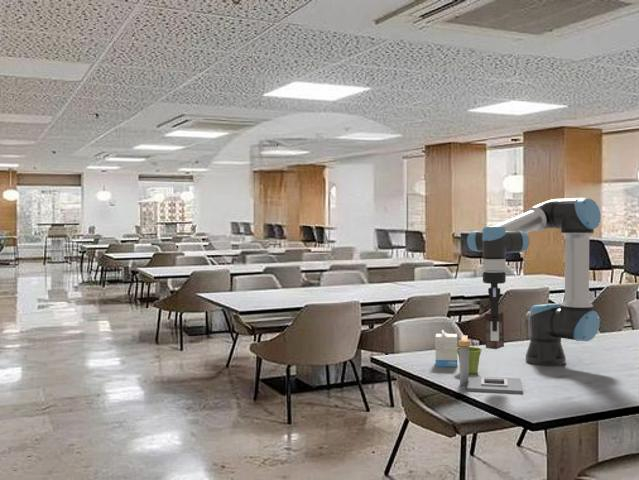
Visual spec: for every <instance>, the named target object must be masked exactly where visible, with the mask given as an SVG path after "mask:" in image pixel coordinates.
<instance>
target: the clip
mask: <svg viewBox="0 0 639 480" xmlns="http://www.w3.org/2000/svg"><path fill="white" fill-rule="evenodd" d="M468 336H469V335H465V334H464V335H463V334H461V339H460V340H457V347H460V346H463V347H467V346H469V347H471V341H470V340H468Z"/></svg>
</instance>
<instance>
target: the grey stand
mask: <svg viewBox="0 0 639 480" xmlns="http://www.w3.org/2000/svg"><path fill="white" fill-rule="evenodd" d="M459 347H460V362H459V385H460V386H466V392H479V393H480V392H481V393H482V392H483V393H497V394H498V393H500V394H501V393H502V394H517V395H518V394H519V395H523V394H524V389H523V383H522V379H521V378H519V377H499V376H498V377H497V376H480V375H477V376H476V375H470V373H469V347H470V346H467V347H463V346H459Z"/></svg>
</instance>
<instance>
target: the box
mask: <svg viewBox="0 0 639 480" xmlns="http://www.w3.org/2000/svg"><path fill="white" fill-rule="evenodd" d="M490 318H491V311H490V312H485V313H484V321H485V322H484V324H485V325H484V329H485V333H484V334H485V336H484V337H485V349H490V350H491V349H492V350H498V349H501V348H503V347H505V338H504V337H505V333H504V329H505V328H504V311H498V318H499V341H491V331H490V321H489V319H490Z"/></svg>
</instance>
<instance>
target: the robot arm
mask: <svg viewBox="0 0 639 480" xmlns="http://www.w3.org/2000/svg"><path fill="white" fill-rule="evenodd" d="M600 223H601V210H600V207H599V205H598V203H596V201H595V200H594V199H592V198H589V197H572V198H570V197H569V198H567V197H566V198H554V199H549V200H546V201H544V202H540V203H538V204H535V205H533V206H532V207H530V208H527V210H526V211H525V212H523V213H521V214H519V215H517V216H515V217H511V218H509V219H507V220H505V221H503V222H500V223H497V224H496V225H491V226H490V225H489V226H488V225H487V226H484V227H483V228H482V230H471V231H470V233H469V234H468V235H467V239H466V243H467V246H468V248H469V250H471V251H472V252H478V253H481V252H482V261H480V264H481V265H482V270H483V272H482V282H483V284H490V287H488V289H487V291H488V301H489V302H490V312H491V318H490V319H489V321H490V331H491V341H499V318H498V312H499V302H500V299H501V298H500V295H501V287H500V288H499V287H498V284H499V285H501V284H505V283H507V280H506V278H507V275H506V272H505V271H506V269H507V267H506V266H507V264H506V260H507V259H506V254H511V253H512V254H513V253H517V254H519V253H523V252H525V251H526V250H528V248H529V246H530V237H529V235H528V234H529V233H532V232H534V231H536V232H539V231H543V230H544V229H547V230H548V229H559V230H560V233H561V235H562V236H563V237H564V240H565V242H564V244H565V245H564V246H565V247H564V301H563V302H561V303H559V302H558V303H545V304H543V303H541V304H534V305H532V306H531V307H530V314H529V323H530V324H529V326H530V327H529V333H530V334H529V336H530V337H529V339H530V340H529V345H528V347H527V351H526V353H525V362H526V363H529V364H532V365H533V364H534V365H539V366H561V365H565V364H566V359H567V358H566V354H565V352H564V348H563V345H562V339H566V340H572V341H575V342H589V341H592V340H593V339H594V338H595V336H596V335H598V332H599V328H600V325H601V323H600V322H601V320H600V316H599V313H598V312H597V311H594V304H592V302H590V237H592V236H593V235H594V233H595V232H594V230H595V229H596V228H598V227H599V225H600Z"/></svg>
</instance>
